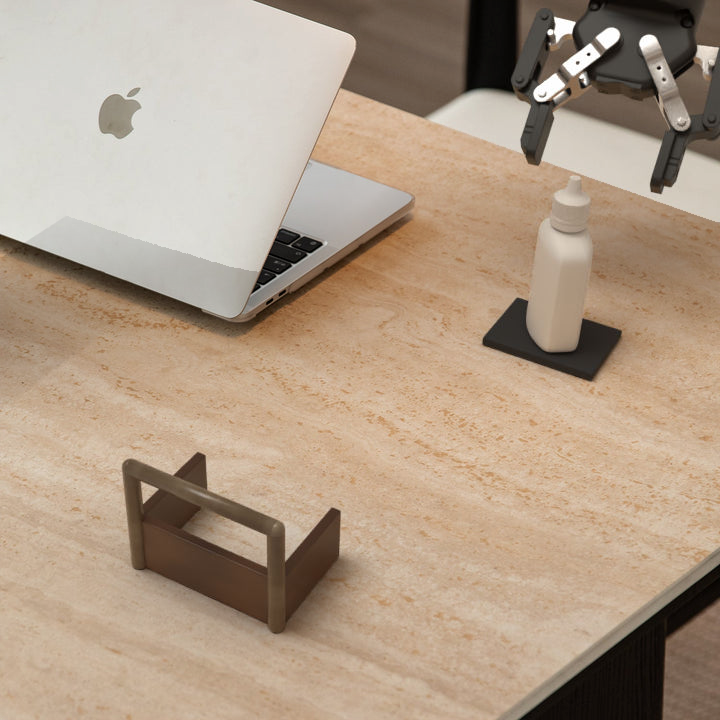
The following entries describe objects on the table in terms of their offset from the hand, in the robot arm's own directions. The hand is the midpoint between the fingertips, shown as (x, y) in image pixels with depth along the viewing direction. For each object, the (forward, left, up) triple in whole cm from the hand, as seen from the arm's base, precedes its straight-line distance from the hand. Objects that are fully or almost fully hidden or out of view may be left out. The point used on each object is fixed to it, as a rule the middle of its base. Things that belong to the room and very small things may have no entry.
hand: (592, 175), depth 83 cm
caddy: (-7, -32, -11) cm, 35 cm away
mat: (0, -4, -11) cm, 12 cm away
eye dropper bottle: (0, -4, -11) cm, 11 cm away
